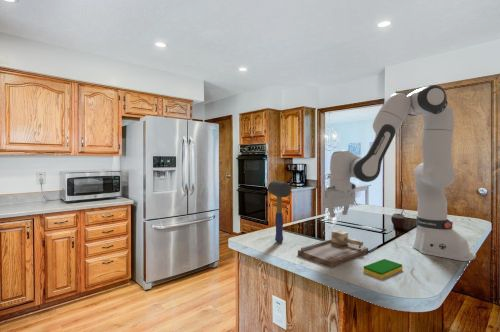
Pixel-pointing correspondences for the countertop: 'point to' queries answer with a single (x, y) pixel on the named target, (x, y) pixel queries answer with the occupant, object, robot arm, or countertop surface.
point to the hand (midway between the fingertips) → (338, 215)
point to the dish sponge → (382, 268)
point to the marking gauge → (343, 238)
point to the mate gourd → (398, 220)
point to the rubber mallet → (279, 205)
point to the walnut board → (331, 252)
